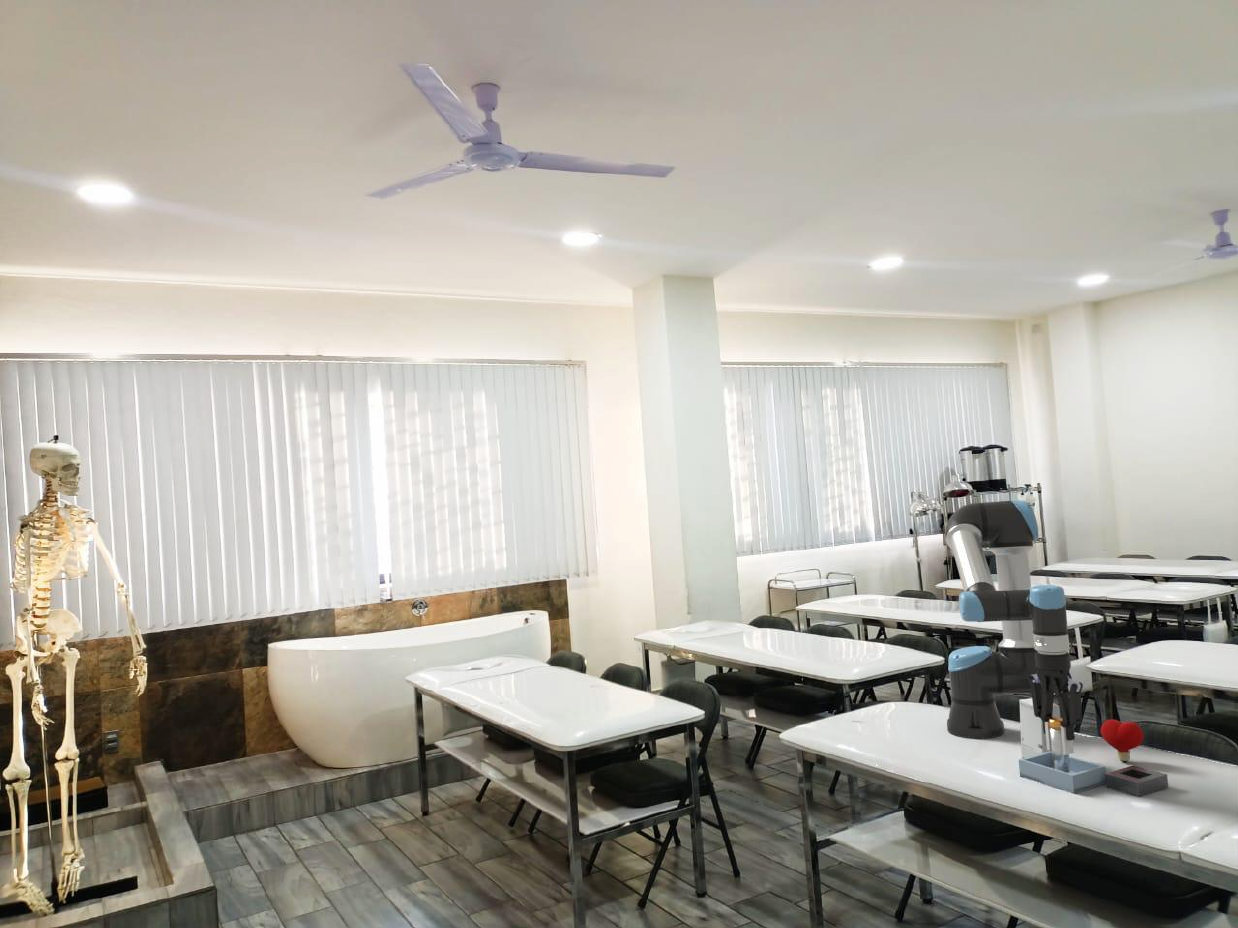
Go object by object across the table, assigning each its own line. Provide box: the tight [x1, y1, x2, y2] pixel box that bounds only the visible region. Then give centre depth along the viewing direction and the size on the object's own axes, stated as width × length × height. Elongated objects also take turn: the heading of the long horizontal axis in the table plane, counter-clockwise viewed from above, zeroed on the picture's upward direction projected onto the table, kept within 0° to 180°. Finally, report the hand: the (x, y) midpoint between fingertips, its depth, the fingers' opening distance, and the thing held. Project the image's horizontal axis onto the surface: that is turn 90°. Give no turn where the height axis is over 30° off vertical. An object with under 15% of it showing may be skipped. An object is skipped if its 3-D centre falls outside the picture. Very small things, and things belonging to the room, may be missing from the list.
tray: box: [1018, 751, 1107, 795], centre depth 206 cm, size 15×11×4 cm
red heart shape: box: [1100, 718, 1144, 763], centre depth 216 cm, size 9×7×10 cm
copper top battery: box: [1049, 717, 1070, 773], centre depth 206 cm, size 4×4×12 cm
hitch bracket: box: [1105, 764, 1169, 798], centre depth 199 cm, size 8×10×3 cm
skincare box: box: [1018, 697, 1061, 759], centre depth 221 cm, size 8×6×15 cm
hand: (1060, 750), depth 206 cm, fingers closed on copper top battery, 4 cm apart
